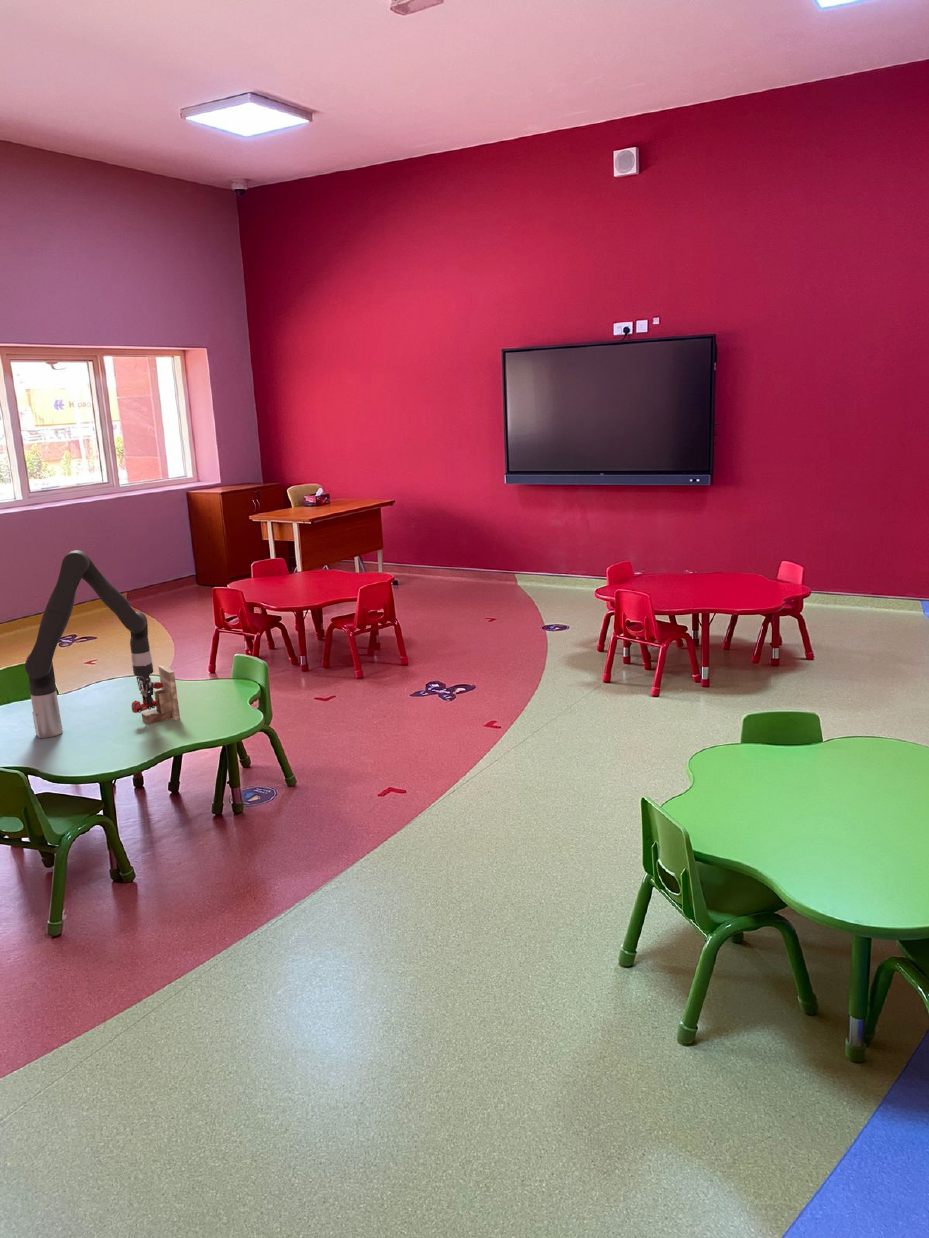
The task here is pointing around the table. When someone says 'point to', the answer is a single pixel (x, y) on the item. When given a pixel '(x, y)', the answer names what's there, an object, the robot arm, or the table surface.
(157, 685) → the toy fire truck
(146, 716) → the board
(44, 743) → the table surface
